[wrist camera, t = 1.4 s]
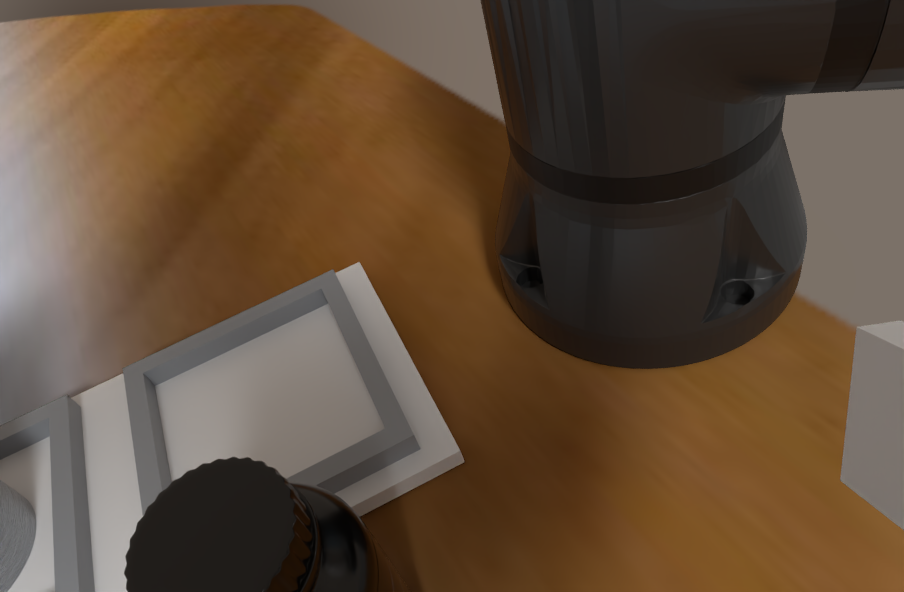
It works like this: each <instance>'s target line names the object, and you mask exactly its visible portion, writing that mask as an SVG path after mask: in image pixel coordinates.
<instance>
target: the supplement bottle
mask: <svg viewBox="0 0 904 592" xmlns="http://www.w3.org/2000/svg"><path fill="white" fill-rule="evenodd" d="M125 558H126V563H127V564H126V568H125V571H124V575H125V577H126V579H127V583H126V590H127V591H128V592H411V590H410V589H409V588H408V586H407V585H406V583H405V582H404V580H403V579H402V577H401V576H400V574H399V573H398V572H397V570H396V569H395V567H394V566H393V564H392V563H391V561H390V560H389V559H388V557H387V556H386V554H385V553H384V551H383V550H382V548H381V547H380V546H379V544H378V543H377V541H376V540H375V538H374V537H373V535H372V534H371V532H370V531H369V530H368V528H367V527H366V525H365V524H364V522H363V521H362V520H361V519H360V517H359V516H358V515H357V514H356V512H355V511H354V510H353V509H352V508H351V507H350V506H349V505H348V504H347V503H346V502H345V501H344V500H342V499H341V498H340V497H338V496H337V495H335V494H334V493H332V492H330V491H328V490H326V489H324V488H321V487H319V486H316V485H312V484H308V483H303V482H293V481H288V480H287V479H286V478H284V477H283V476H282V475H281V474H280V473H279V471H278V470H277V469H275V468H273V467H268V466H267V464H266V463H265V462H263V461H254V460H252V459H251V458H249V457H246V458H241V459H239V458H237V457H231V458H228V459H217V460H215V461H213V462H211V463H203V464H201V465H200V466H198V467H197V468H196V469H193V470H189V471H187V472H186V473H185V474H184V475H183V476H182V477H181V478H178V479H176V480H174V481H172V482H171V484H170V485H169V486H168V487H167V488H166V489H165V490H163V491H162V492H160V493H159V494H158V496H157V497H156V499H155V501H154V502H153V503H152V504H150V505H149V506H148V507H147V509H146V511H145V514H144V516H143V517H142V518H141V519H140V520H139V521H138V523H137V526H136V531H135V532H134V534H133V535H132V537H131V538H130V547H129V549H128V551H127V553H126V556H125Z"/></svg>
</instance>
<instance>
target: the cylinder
mask: <svg viewBox="0 0 904 592" xmlns="http://www.w3.org/2000/svg"><path fill="white" fill-rule="evenodd" d="M35 536H36V516H35V512H34V509H33V507H32V505H31V504H30V502H29V501H28V500H27V499H26V498H25V497H24V496H23V495H21V494H20V493H18V492H17V491H16V490H14V489H13V488H11V487H10V486H9V485H7V484H6V483H4V482H3V481H2V480H0V592H7V591H8V590H9V589H10V588H11V586H12V585H13V584H14V582H15V581H16V579H17V578H18V577H19V575H20V573H21V572H22V570H23V568H24V566H25V564H26V562H27V560H28V558H29V556H30V553H31V551H32V548H33V545H34V541H35Z"/></svg>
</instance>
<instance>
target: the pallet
mask: <svg viewBox="0 0 904 592" xmlns="http://www.w3.org/2000/svg"><path fill="white" fill-rule="evenodd" d="M231 457H237V458H239V459H241V458H246V457H249V458H251V459H252V460H254V461H263V462H265V463H266V464H267V466H268V467H273V468H275V469H277V470H278V471H279V473H280V474H281V475H282V476H283V477H284V478H286V479H287V480H288V481H293V482H303V483H308V484H312V485H316V486H319V487H321V488H324V489H326V490H328V491H330V492H332V493H334V494H335V495H337V496H338V497H340V498H341V499H342V500H344V501H345V502H346V503H347V504H348V505H349V506H350V507H351V508H352V509H353V510H354V511H355V512H356V514H357V515H358V516H359V517H360V516H362V515H364V514H366V513H368V512H370V511H372V510H374V509H376V508H378V507H379V506H381V505H383V504H385V503H387V502H389V501H391V500H393V499H395V498H397V497H399V496H401V495H402V494H404V493H406V492H408V491H410V490H412V489H414V488H416V487H418V486H420V485H422V484H424V483H425V482H427V481H429V480H431V479H433V478H435V477H437V476H439V475H441V474H443V473H445V472H447V471H448V470H450V469H452V468H454V467H456V466H458V465H460V464H462V463H464V462H465V461H464V458H463V456H462V454H461V451H460V449H459V447H458V445H457V444H456V442H455V440H454V438H453V436H452V434H451V432H450V430H449V429H448V427H447V425H446V423H445V421H444V419H443V417H442V415H441V414H440V412H439V410H438V408H437V406H436V404H435V402H434V401H433V399H432V397H431V395H430V393H429V391H428V389H427V387H426V386H425V384H424V382H423V380H422V378H421V376H420V374H419V372H418V371H417V369H416V367H415V365H414V363H413V361H412V359H411V357H410V356H409V354H408V352H407V350H406V348H405V346H404V344H403V342H402V341H401V339H400V337H399V335H398V333H397V331H396V329H395V328H394V326H393V324H392V322H391V320H390V318H389V316H388V314H387V313H386V311H385V309H384V307H383V305H382V303H381V301H380V299H379V298H378V296H377V294H376V292H375V290H374V288H373V286H372V284H371V283H370V281H369V279H368V277H367V275H366V273H365V271H364V270H363V268H362V266H361V264H360V262H358V263H356V264H354V265H351V266H349V267H347V268H345V269H343V270H341V271H339V272H337V273H335V272H334V270H330V271H328V272H326V273H324V274H322V275H320V276H318V277H316V278H313V279H311V280H309V281H307V282H305V283H303V284H301V285H299V286H296V287H294V288H292V289H290V290H288V291H286V292H284V293H282V294H279V295H277V296H275V297H273V298H271V299H269V300H267V301H265V302H262V303H260V304H258V305H256V306H254V307H252V308H250V309H248V310H245V311H243V312H241V313H239V314H237V315H235V316H233V317H231V318H228V319H226V320H224V321H222V322H220V323H218V324H216V325H214V326H211V327H209V328H207V329H205V330H203V331H201V332H199V333H197V334H194V335H192V336H190V337H188V338H186V339H184V340H182V341H180V342H177V343H175V344H173V345H171V346H169V347H167V348H165V349H163V350H160V351H158V352H156V353H154V354H152V355H150V356H148V357H146V358H143V359H141V360H139V361H137V362H135V363H133V364H131V365H129V366H126V367H124V368H123V373H122V374H120V375H118V376H116V377H114V378H112V379H110V380H108V381H105V382H103V383H101V384H99V385H97V386H95V387H93V388H91V389H88V390H86V391H84V392H82V393H80V394H78V395H76V396H74V397H69V396H68V395H65V396H63V397H61V398H58V399H56V400H54V401H52V402H50V403H48V404H46V405H44V406H41V407H39V408H37V409H35V410H33V411H31V412H29V413H27V414H24V415H22V416H20V417H18V418H16V419H14V420H12V421H10V422H7V423H5V424H3V425H1V426H0V480H2V481H3V482H4V483H6V484H7V485H9V486H10V487H11V488H13V489H14V490H16V491H17V492H18V493H20V494H21V495H23V496H24V497H25V498H26V499H27V500H28V501H29V502H30V504H31V505H32V507H33V509H34V512H35V516H36V536H35V541H34V545H33V548H32V551H31V553H30V556H29V558H28V560H27V562H26V564H25V566H24V568H23V570H22V572H21V573H20V575H19V577H18V578H17V579H16V581H15V582H14V584H13V585H12V586H11V588H10V589H9V590H8V591H7V592H128V591H127V590H126V583H127V579H126V577H125V575H124V571H125V568H126V564H127V563H126V558H125V556H126V553H127V551H128V549H129V547H130V538H131V537H132V535H133V534H134V532H135V531H136V526H137V523H138V521H139V520H140V519H141V518H142V517H143V516H144V514H145V511H146V509H147V507H148V506H149V505H150V504H152V503H153V502H154V501H155V499H156V497H157V496H158V494H159V493H160V492H162V491H163V490H165V489H166V488H167V487H168V486H169V485H170V484H171V482H172V481H174V480H176V479H178V478H181V477H182V476H183V475H184V474H185V473H186V472H187V471H189V470H193V469H196V468H197V467H198V466H200V465H201V464H203V463H211V462H213V461H215V460H217V459H228V458H231Z"/></svg>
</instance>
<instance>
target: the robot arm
mask: <svg viewBox="0 0 904 592" xmlns="http://www.w3.org/2000/svg"><path fill="white" fill-rule="evenodd" d="M481 4H482V9H483V14H484V19H485V24H486V29H487V34H488V39H489V44H490V49H491V54H492V59H493V64H494V69H495V74H496V79H497V84H498V89H499V94H500V99H501V104H502V109H503V114H504V119H505V123H506V128H507V134H508V139H509V144H510V150H511V153H510V158H509V163H508V169H507V174H506V179H505V184H504V190H503V195H502V200H501V205H500V211H499V216H498V221H497V226H496V234H495V247H496V257H497V261H498V266H499V270H500V274H501V278H502V282H503V287H504V290H505V293H506V296H507V298H508V300H509V302H510V304H511V306H512V307H513V309H514V311H515V312H516V313H517V315H518V316H519V317H520V319H521V320H522V321H523V322H524V323H525V324H526V325H527V326H528V327H529V328H530V329H531V330H532V331H533V332H534V333H536V334H537V335H538V336H539V337H541V338H542V339H544V340H545V341H546V342H548V343H550V344H551V345H553V346H555V347H557V348H559V349H561V350H563V351H565V352H567V353H569V354H572V355H574V356H576V357H579V358H582V359H585V360H588V361H592V362H596V363H600V364H605V365H610V366H616V367H624V368H640V369H652V368H667V367H676V366H682V365H688V364H692V363H697V362H701V361H704V360H708V359H711V358H714V357H717V356H719V355H722V354H724V353H727V352H729V351H731V350H734V349H735V348H737V347H739V346H741V345H743V344H745V343H746V342H748V341H750V340H751V339H753V338H754V337H756V336H757V335H759V334H760V333H761V332H763V331H764V330H765V329H766V328H767V327H768V326H770V325H771V324H772V323H773V322H774V321H775V320H776V319H777V318H778V317H779V315H780V314H781V313H782V312H783V310H784V309H785V308H786V306H787V305H788V303H789V302H790V300H791V298H792V296H793V294H794V292H795V290H796V288H797V285H798V281H799V278H800V274H801V269H802V264H803V258H804V253H805V247H806V241H807V225H806V216H805V210H804V207H803V203H802V200H801V196H800V193H799V189H798V186H797V182H796V179H795V175H794V172H793V168H792V165H791V161H790V158H789V154H788V151H787V147H786V144H785V140H784V137H783V133H782V130H781V128H782V119H783V112H784V104H785V97H786V95H791V94H792V95H793V94H807V93H825V92H842V91H845V92H848V91H868V90H891V89H904V0H481ZM840 481H842V482H843V483H844V484H845V485H847V486H848V487H849V488H850V489H852V490H853V491H854V492H856V493H857V494H858V495H859V496H861V497H862V498H863V499H865V500H866V501H867V502H868V503H870V504H871V505H872V506H874V507H875V508H876V509H877V510H879V511H880V512H881V513H882V514H884V515H885V516H886V517H888V518H889V519H890V520H891V521H893V522H894V523H895V524H897V525H898V526H899V527H900V528H902V529H903V530H904V322H903V321H901V320H900V321H893V322H886V323H881V324H873V325H866V326H860V327H857V330H856V339H855V349H854V358H853V367H852V377H851V386H850V395H849V405H848V414H847V423H846V432H845V442H844V451H843V460H842V470H841V479H840Z"/></svg>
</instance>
